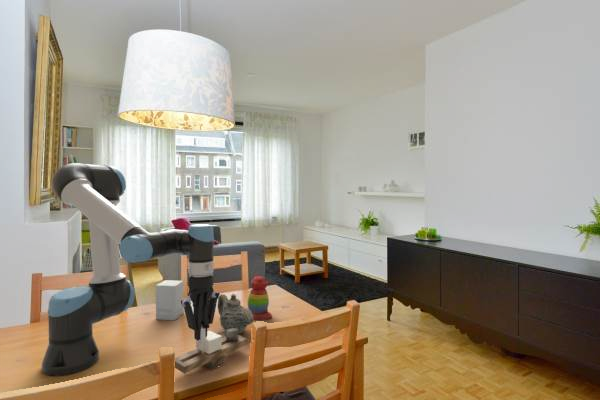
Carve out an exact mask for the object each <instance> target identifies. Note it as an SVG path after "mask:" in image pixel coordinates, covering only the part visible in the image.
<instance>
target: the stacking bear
mask: <svg viewBox="0 0 600 400" xmlns="http://www.w3.org/2000/svg"><path fill="white" fill-rule="evenodd" d="M250 284H251V290H250V291H249V293H248V296H247V308H248V309H249V310H251V312H252V314H253V317H254V318H253V319H254V320H258V321H260V320H261V321H262V320H270V319H272V318H273V315H272V313H271V312H269V310H268V309H269V308H268V307H269V303H270V301H269V294H268V290H267V289H266V288H267V287H268V284H269V283H268V281H267V280H266V279H265V278H264V277H263V276H259V275H254V277H253V278H252V279H251V282H250Z"/></svg>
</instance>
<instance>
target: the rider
mask: <svg viewBox="0 0 600 400" xmlns="http://www.w3.org/2000/svg"><path fill="white" fill-rule="evenodd" d="M222 336H223V335H221V334H218V333H216V332H214V331H211V330H207V337H205V349H204V350H202V354H203V353H208V354H210V353H212V352H214V351H217V350H219V349H221V348H222V338H223V337H222Z"/></svg>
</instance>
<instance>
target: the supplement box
mask: <svg viewBox="0 0 600 400" xmlns="http://www.w3.org/2000/svg"><path fill="white" fill-rule="evenodd" d="M184 283H185V282H184V280H171V279H164V280H163V281H161V282H159V283H157V284H156V285H155V320H159V321H160V320H161V321H162V320H163V321H177V319H178V318H180V317H181V316H182V315H183V314H184V313H185V310H184V307H183V305H182V304H181V300H185V298H184V297H185V295H184V294H185V292H184V291H185V290H184V285H185V284H184Z"/></svg>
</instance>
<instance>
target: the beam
mask: <svg viewBox="0 0 600 400" xmlns="http://www.w3.org/2000/svg"><path fill="white" fill-rule="evenodd" d="M225 333H226V336H223V337H222V348H221V349H219V350H217V351H214V352H212V353H210V354H208V353H203V354H202V351H201V350H199V349H197V348H194V349H192V350H190V351H187V352H184V353H183V354H179V355H178V356H176V357H174V358H175V367H174V368H175V369H176V370H178V371H180V372H181V373H183V374H184V375H185V374H187V373H188V372H191V371H193V370H196V369H197V368H199V367H202V366H204V367H206V368H207V369H209V368H210V369H209V370H211V371H213V370H215V369H218V368H219V367H218V366H220V367H222V366H224V365H225V363H226V355H227V354H230V353H231V352H234V351H236V350H238V349H240V348H242V347H244V346H247V345H248V338H247V337H244V336H242V335H240V334H239V333H238V329H235V328H231V329H228V330H227V331H225ZM223 364H224V365H223ZM221 365H222V366H221ZM214 368H215V369H214ZM212 369H213V370H212Z"/></svg>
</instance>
